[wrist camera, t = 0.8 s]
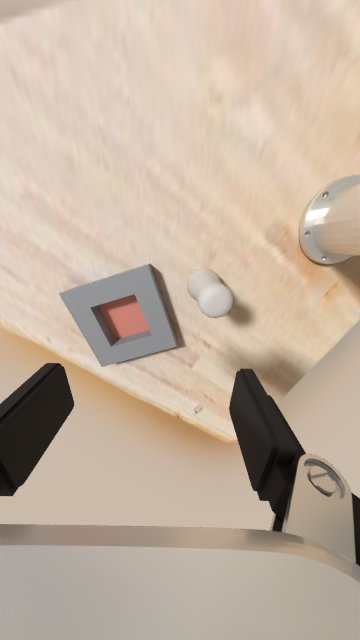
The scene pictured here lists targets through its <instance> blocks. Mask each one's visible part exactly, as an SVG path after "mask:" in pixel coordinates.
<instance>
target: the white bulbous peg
mask: <svg viewBox="0 0 360 640" xmlns="http://www.w3.org/2000/svg"><path fill="white" fill-rule="evenodd" d="M187 290H188V292H189V294H190V296H191V297H192V298H193V299H195V300H196V301H198V306H199V308H200V310H201V311H202V313H203V314H205V315H206V316H208V317H211V318H219V317H222V316H224V315H226V314H227V313H228V312H229V311H230V309H231V307H232V306H233V296H232V294H231V291H230V289H229V288H227V287H226V286H224V285H223V284H221V282H220V279H219V277H218V275H217V274H216V273H215V272H214V271H212V270H211V269H205V268H202V269H199V270H196V271H195V272H194V273H193V274H192V275H191V276H190V277H189V280H188V283H187Z"/></svg>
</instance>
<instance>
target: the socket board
mask: <svg viewBox="0 0 360 640" xmlns="http://www.w3.org/2000/svg"><path fill="white" fill-rule="evenodd" d="M59 295H60V296H61V298H62V300H63V301H64V303H65V305H66V307H67V308H68V310H69V312H70V313H71V315H72V317H73V318H74V320H75V322H76V324H77V325H78V327H79V329H80V330H81V332H82V334H83V335H84V337H85V339H86V341H87V342H88V344H89V346H90V347H91V349H92V351H93V353H94V354H95V356H96V358H97V359H98V361H99V363H100V364H101V366H102V367H103V366H107V365H111V364H115V363H118V362H122V361H126V360H129V359H133V358H137V357H140V356H144V355H148V354H151V353H155V352H159V351H162V350H166V349H170V348H174V347H177V339H176V336H175V333H174V331H173V328H172V325H171V322H170V319H169V316H168V313H167V311H166V308H165V305H164V302H163V299H162V296H161V293H160V291H159V288H158V285H157V282H156V279H155V276H154V273H153V271H152V268H151V265H150V264H148V265H144V266H141V267H138V268H135V269H132V270H129V271H126V272H123V273H119V274H116V275H113V276H110V277H107V278H104V279H101V280H98V281H94V282H91V283H88V284H85V285H82V286H79V287H76V288H73V289H69V290H67V291H64V292H62V293H59Z"/></svg>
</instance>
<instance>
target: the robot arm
mask: <svg viewBox="0 0 360 640" xmlns="http://www.w3.org/2000/svg"><path fill="white" fill-rule="evenodd" d="M299 240H300V245H301V248H302V250H303V252H304V253H305V255H306V256H307V257H308V258H310V259H311V260H313V261H315V262H318V263H323V264H334V263H339V262H342V261H345V260H347V259H349V258H351V257H352V256H360V175H351V176H346V177H343V178H341V179H338V180H336V181H334V182H332V183H330V184H328V185H327V186H326V187H324V188H323V189H322V190H321V191H320V192H319V193H318V194H317V195H316V196H315V197H314V198H313V199H312V201H311V202H310V203H309V205H308V207H307V209H306V210H305V212H304V214H303V217H302V220H301V224H300V229H299ZM73 407H74V400H73V397H72V393H71V390H70V386H69V383H68V379H67V376H66V372H65V369H64V367H63V366H61V364H59V363H47V364H45V365H44V366H43V367H41V368H40V369H39V370H38V371H37V372H36V373H35V374H34V375H32V376H31V377H30V378H29V379H28V380H27V381H26V382H25V383H23V384H22V385H21V386H20V387H19V388H18V389H17V390H16V391H14V392H13V393H12V394H11V395H10V396H9V397H8V398H6V399H5V400H4V401H3V402H2V403H1V404H0V496H13V495H14V493H15V492H16V490H17V489H18V487H20V486H21V485H23V484H24V483H25V481H26V480H27V478H28V476H29V475H30V474H31V472H32V471H33V469H34V467H35V466H36V465H37V463H38V461H39V460H40V458H41V457H42V455H43V454H44V452H45V451H46V449H47V448H48V446H49V445H50V443H51V441H52V440H53V438H54V437H55V435H56V434H57V432H58V431H59V429H60V428H61V426H62V425H63V423H64V422H65V420H66V418H67V417H68V416H69V414H70V412H71V411H72V409H73ZM229 410H230V415H231V418H232V422H233V425H234V429H235V432H236V435H237V439H238V442H239V445H240V449H241V452H242V456H243V459H244V462H245V465H246V469H247V472H248V476H249V479H250V482H251V485H252V488H253V490H254V491H257V492H258V496H259V499H260V500H261V501H269V503H270V506H271V509H272V511H273V512H274V515H273V519H272V524H271V528H270V531H266V530H252V529H232V528H203V527H157V526H98V525H97V526H96V525H95V526H94V525H14V524H13V525H12V524H10V525H9V524H0V640H360V498H358V497H357V496H355V495H354V494H353V493H351V490H350V487H349V485H348V483H347V481H346V479H345V478H344V477H343V476H342V474H341V473H340V472H339V471H338V470H337V469H336V468H335V467H334V466H333V465H332V464H331V463H329V462H328V461H326V460H325V459H323V458H321V457H319V456H317V455H313V454H306V453H305V451H304V450H303V448H302V446H301V445H300V443H299V441H298V440H297V438H296V436H295V435H294V433H293V431H292V430H291V428H290V426H289V425H288V423H287V421H286V420H285V418H284V416H283V415H282V413H281V411H280V410H279V408H278V407H277V405H276V403H275V401H274V400H273V398H272V397H271V396H270V395H267V393H266V392H265V390H264V388H263V386H262V385H261V383H260V381H259V380H258V378H257V376H256V374H255V373H254V371H253V370H252V369H240V371H237V373H236V377H235V382H234V387H233V392H232V397H231V401H230V407H229Z"/></svg>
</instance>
